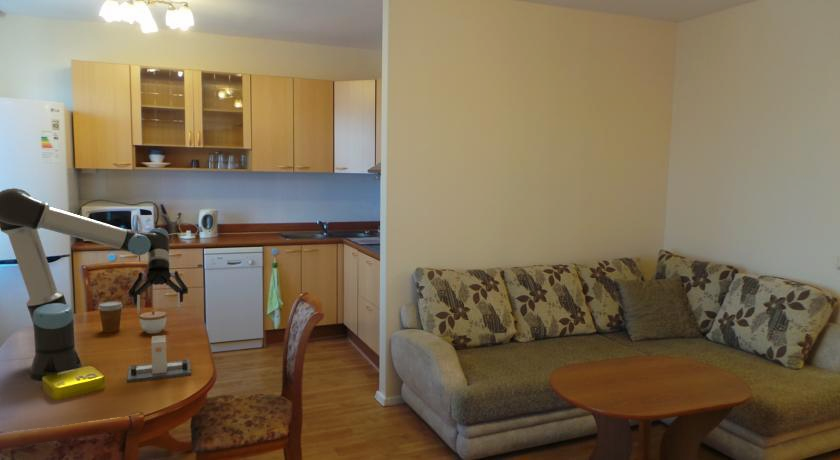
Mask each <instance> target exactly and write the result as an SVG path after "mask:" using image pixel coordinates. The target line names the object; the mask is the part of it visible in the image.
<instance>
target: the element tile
mask: <svg viewBox="0 0 840 460" xmlns="http://www.w3.org/2000/svg"><path fill="white" fill-rule="evenodd" d="M81 367H82V368H77V369H72V370H68V371H63V372H59V373H54V374H49V375H45V376H43V378H42V380H41V381H42V383H41V384H42V390H43V391H44V392H45V394H47V395H48V396H49V397H50V398H51V400H55V401H59V400H60V401H61V400H65V399H68V398H73V397H76V395H77V396H80V395H79V394H81V395H85V394H88V393H87V392H89V393H92V392H91V391H93V392H95V390H97V391H100V389H101V390H103V389H102V388H104V387H105V388H106V378H105V374H103V373H102V372H100V371H99V370H97V369H96V368H95V367H94V366H91V365H88V366H81ZM105 388H104V389H105ZM84 393H85V394H84Z"/></svg>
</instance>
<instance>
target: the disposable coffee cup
mask: <svg viewBox="0 0 840 460" xmlns="http://www.w3.org/2000/svg"><path fill="white" fill-rule="evenodd" d="M122 308H123V304H122V302H121V301H118V300H117V301H116V300H115V301H104V302H100V303H98V307H97V309H98V311H99V316H100V321H101V327H102V332H104V333H114V332H118V331H120V326H121V316H122Z"/></svg>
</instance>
